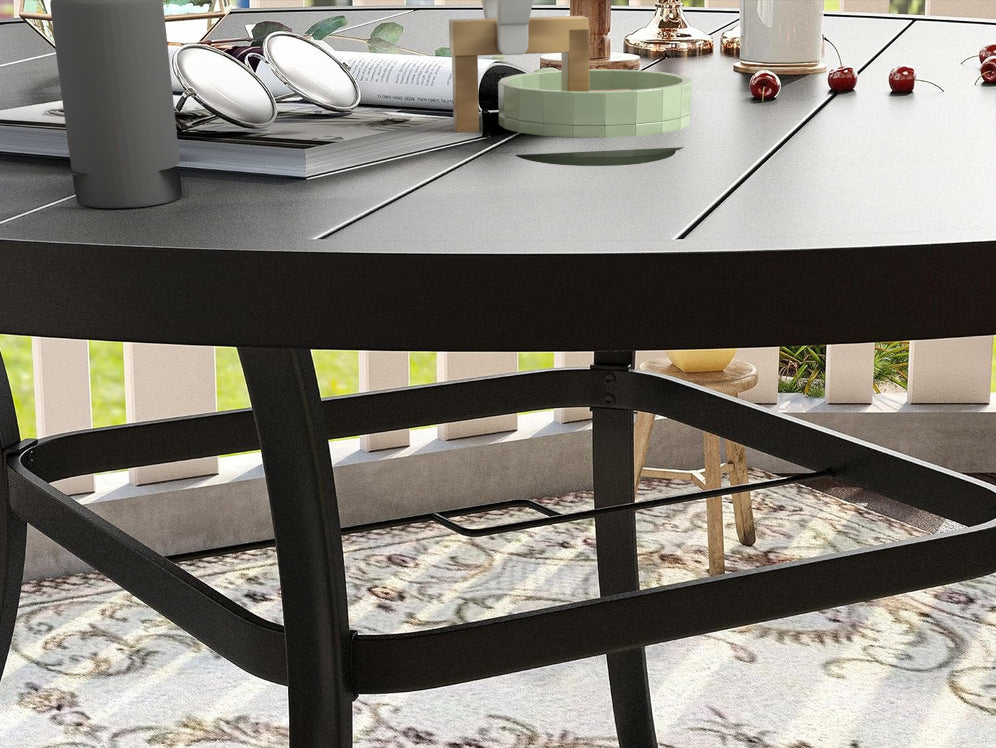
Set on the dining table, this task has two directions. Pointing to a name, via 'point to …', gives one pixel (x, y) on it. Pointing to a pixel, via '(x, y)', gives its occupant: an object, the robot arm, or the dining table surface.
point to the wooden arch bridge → (542, 38)
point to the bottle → (117, 101)
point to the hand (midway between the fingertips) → (506, 51)
